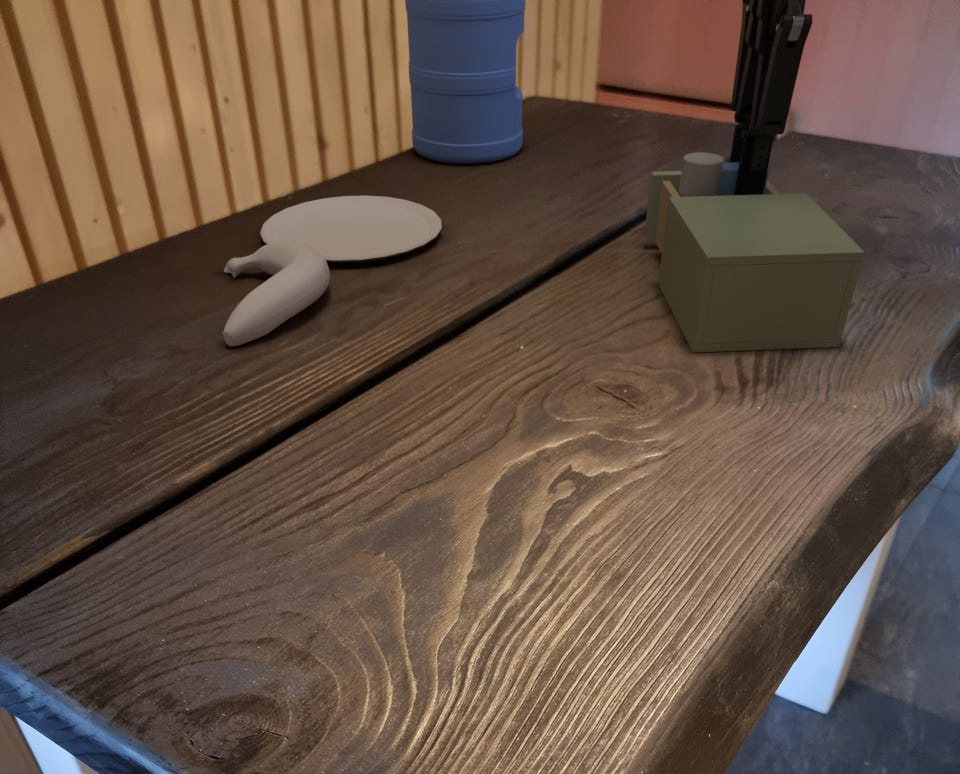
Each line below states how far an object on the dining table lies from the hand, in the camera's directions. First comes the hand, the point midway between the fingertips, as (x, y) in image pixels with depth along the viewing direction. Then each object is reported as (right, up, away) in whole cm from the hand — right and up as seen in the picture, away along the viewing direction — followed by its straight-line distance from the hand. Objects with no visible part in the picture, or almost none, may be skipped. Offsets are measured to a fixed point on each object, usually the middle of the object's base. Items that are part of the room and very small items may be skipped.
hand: (742, 199), depth 95 cm
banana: (-50, -12, -2) cm, 51 cm away
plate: (-42, +1, +12) cm, 44 cm away
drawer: (-2, -3, +5) cm, 6 cm away
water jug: (-29, +24, +37) cm, 53 cm away
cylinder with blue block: (-2, 0, 0) cm, 2 cm away
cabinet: (-1, -14, -5) cm, 15 cm away
